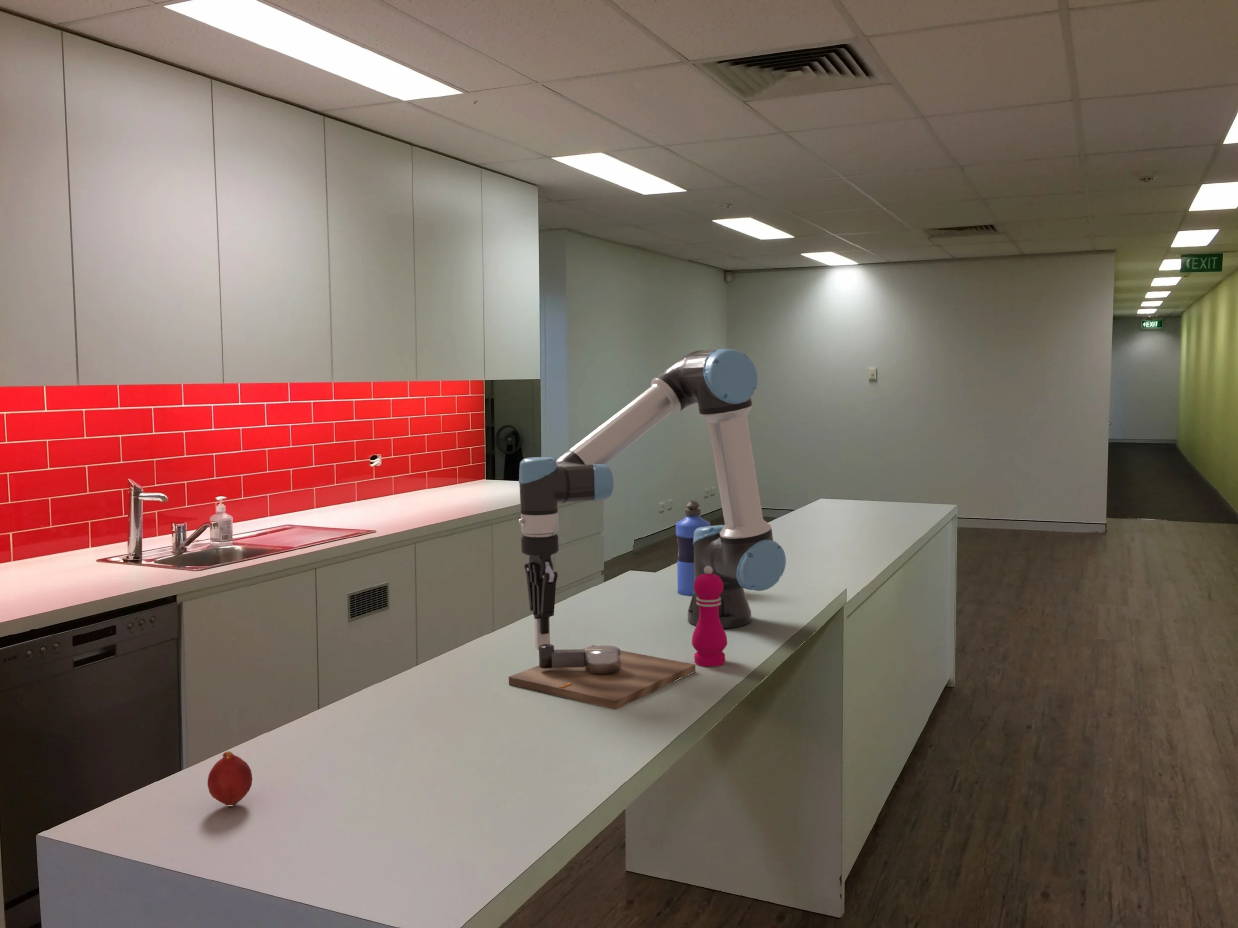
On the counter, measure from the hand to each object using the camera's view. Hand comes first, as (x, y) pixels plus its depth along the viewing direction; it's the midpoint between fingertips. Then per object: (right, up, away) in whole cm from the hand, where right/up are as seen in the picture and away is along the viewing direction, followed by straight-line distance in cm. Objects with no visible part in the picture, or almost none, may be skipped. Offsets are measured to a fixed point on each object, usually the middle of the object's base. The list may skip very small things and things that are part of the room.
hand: (542, 647), depth 197 cm
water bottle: (+36, +2, +65) cm, 75 cm away
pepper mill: (+34, -3, 0) cm, 34 cm away
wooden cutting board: (+12, -4, -8) cm, 16 cm away
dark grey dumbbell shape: (+8, -2, -8) cm, 12 cm away
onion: (-39, -11, -62) cm, 74 cm away
